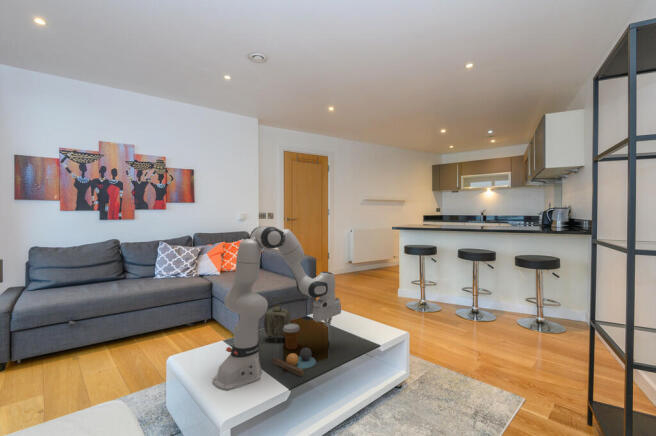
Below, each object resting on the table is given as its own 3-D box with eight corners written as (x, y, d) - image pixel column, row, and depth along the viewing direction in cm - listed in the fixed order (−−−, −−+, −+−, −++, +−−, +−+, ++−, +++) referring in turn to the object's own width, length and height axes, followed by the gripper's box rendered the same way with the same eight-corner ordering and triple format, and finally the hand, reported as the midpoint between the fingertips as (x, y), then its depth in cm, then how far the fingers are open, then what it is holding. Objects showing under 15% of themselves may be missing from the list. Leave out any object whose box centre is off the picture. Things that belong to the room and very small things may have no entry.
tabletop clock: (290, 337, 192) (290, 297, 192) (287, 343, 183) (286, 301, 183) (267, 337, 193) (267, 296, 193) (263, 343, 184) (262, 300, 184)
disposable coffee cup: (279, 348, 176) (279, 327, 176) (289, 342, 184) (289, 322, 184) (293, 352, 172) (293, 330, 172) (303, 345, 180) (302, 324, 180)
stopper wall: (300, 376, 145) (300, 371, 145) (273, 363, 158) (273, 358, 158) (303, 375, 146) (303, 369, 146) (276, 362, 160) (276, 357, 160)
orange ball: (294, 370, 152) (289, 359, 151) (286, 367, 156) (282, 357, 155) (302, 361, 156) (298, 351, 155) (295, 359, 161) (290, 349, 160)
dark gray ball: (307, 348, 159) (315, 351, 163) (300, 344, 164) (308, 347, 167) (303, 360, 157) (311, 363, 161) (295, 356, 162) (303, 359, 165)
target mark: (301, 371, 149) (301, 371, 149) (282, 363, 159) (282, 362, 159) (321, 361, 160) (321, 361, 160) (302, 353, 169) (302, 353, 169)
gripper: (335, 296, 184) (335, 319, 184) (310, 303, 169) (311, 329, 169) (343, 297, 180) (343, 321, 180) (319, 305, 165) (319, 331, 165)
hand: (327, 325), depth 174 cm, fingers closed
